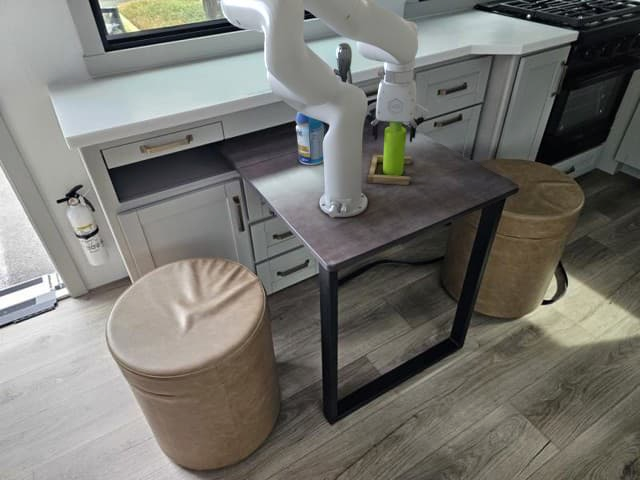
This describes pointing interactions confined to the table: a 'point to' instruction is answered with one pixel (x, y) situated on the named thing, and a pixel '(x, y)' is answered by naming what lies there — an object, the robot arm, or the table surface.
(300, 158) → the blue labeled canister
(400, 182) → the holder
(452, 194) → the table surface
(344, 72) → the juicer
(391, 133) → the soap dispenser
